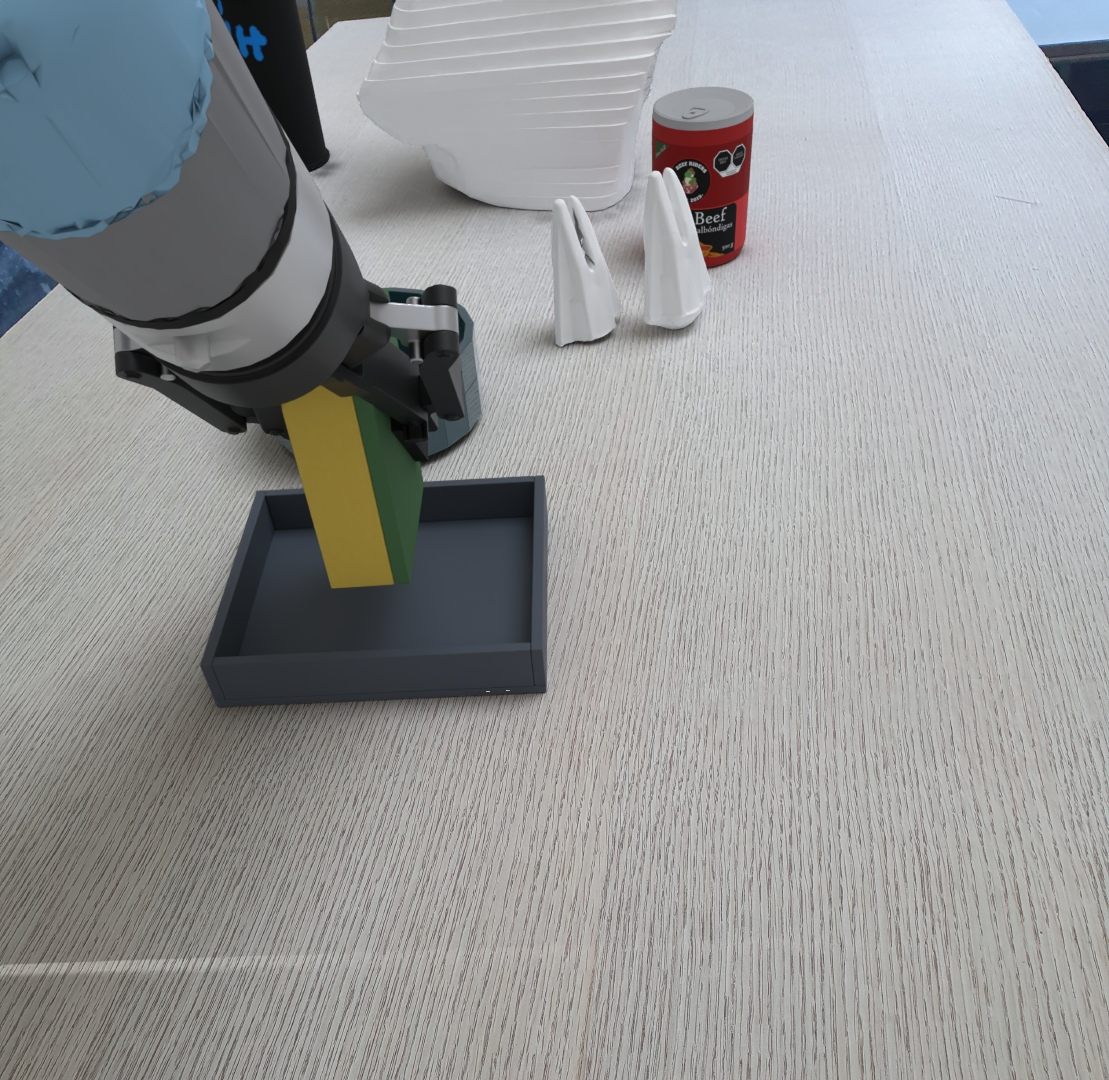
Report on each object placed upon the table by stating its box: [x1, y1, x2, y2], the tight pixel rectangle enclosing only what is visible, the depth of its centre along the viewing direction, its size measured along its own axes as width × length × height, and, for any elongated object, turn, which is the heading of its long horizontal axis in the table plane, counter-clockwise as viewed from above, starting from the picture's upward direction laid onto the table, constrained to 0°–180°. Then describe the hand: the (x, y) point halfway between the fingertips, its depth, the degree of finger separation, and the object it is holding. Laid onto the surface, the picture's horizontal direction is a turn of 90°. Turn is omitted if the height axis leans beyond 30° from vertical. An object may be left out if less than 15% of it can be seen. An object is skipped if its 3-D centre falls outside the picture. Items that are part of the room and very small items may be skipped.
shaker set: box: [550, 168, 713, 348], centre depth 77 cm, size 12×4×11 cm, turn 93°
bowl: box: [277, 286, 484, 457], centre depth 72 cm, size 14×14×6 cm
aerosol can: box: [212, 0, 331, 172], centre depth 103 cm, size 8×8×20 cm
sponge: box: [281, 287, 425, 588], centre depth 53 cm, size 4×9×11 cm, turn 1°
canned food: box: [651, 86, 755, 269], centre depth 86 cm, size 8×8×11 cm
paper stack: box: [355, 0, 678, 212], centre depth 94 cm, size 21×27×26 cm
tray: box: [199, 474, 549, 708], centre depth 60 cm, size 17×15×3 cm
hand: (376, 437), depth 57 cm, fingers closed on sponge, 4 cm apart
